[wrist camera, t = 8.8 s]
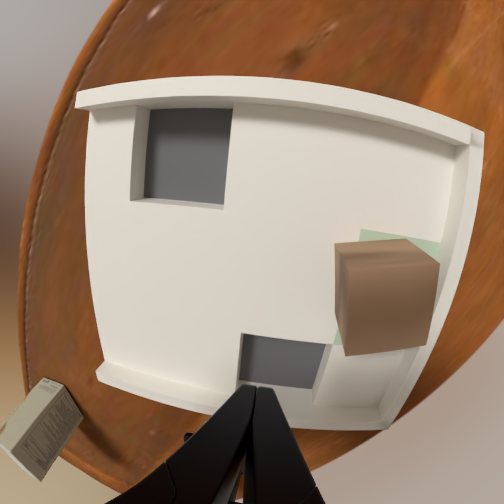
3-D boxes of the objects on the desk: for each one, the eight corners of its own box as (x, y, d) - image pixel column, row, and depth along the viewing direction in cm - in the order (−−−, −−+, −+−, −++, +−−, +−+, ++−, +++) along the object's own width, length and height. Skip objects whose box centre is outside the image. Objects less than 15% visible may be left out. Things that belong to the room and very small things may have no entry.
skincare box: (43, 375, 25) (-12, 433, 14) (65, 383, 24) (8, 450, 13) (63, 411, 27) (19, 468, 15) (86, 420, 26) (41, 484, 15)
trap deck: (379, 398, 19) (387, 429, 16) (118, 356, 21) (98, 380, 18) (452, 136, 13) (484, 132, 10) (110, 100, 15) (77, 92, 12)
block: (400, 306, 14) (426, 345, 11) (334, 312, 15) (345, 356, 11) (405, 238, 13) (440, 263, 10) (334, 243, 14) (349, 271, 10)
